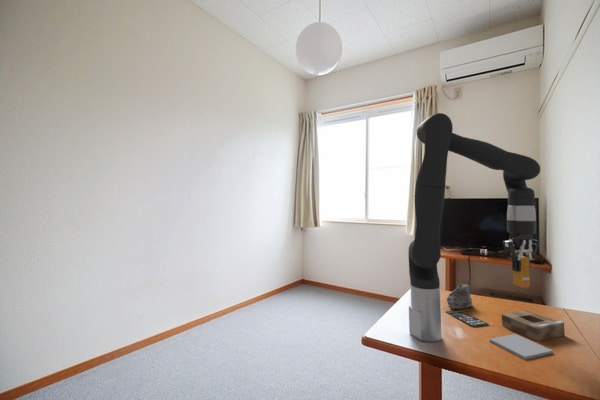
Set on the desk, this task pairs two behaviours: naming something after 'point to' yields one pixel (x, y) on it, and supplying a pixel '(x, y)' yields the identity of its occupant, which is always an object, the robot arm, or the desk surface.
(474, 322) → the smartphone
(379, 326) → the desk surface
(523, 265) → the supplement box
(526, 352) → the mat
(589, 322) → the desk surface
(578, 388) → the desk surface
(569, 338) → the desk surface
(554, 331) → the box
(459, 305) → the mineral rock
